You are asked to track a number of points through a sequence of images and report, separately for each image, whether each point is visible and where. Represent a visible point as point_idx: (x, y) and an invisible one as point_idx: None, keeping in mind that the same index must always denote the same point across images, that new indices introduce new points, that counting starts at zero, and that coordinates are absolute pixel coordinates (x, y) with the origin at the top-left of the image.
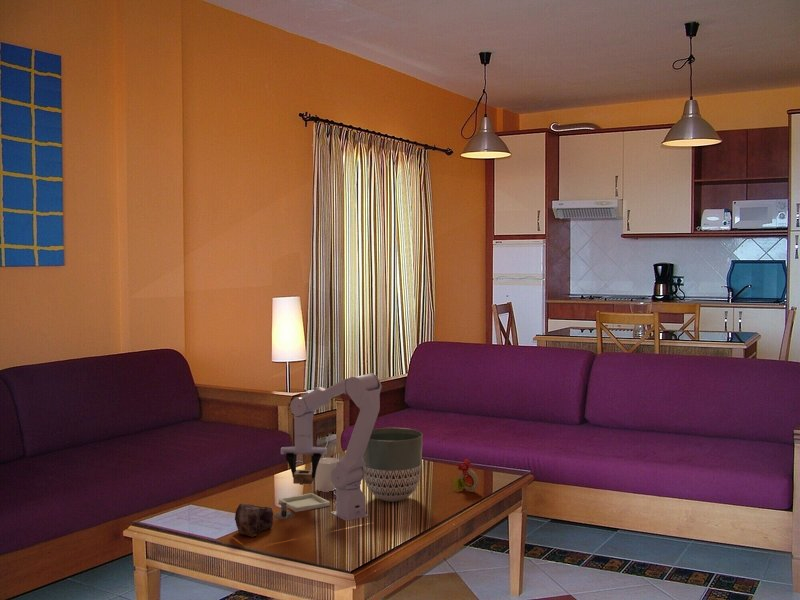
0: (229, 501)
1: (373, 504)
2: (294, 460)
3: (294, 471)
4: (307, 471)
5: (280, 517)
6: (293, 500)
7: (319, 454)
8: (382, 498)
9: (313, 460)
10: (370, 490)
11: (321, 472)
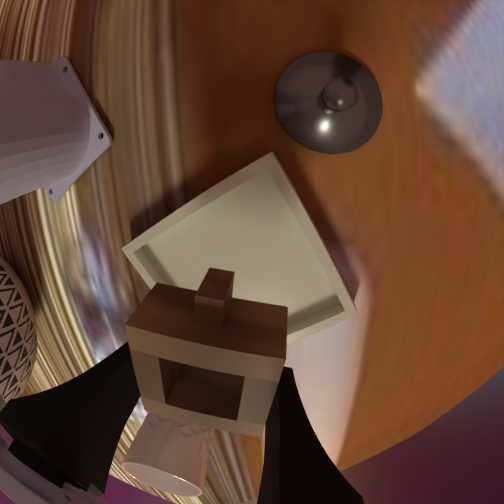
0: (493, 329)
1: (28, 252)
2: (267, 488)
3: (275, 402)
4: (183, 405)
5: (344, 73)
6: (291, 324)
7: (14, 449)
8: (3, 259)
9: (50, 416)
10: (13, 288)
11: (179, 445)
